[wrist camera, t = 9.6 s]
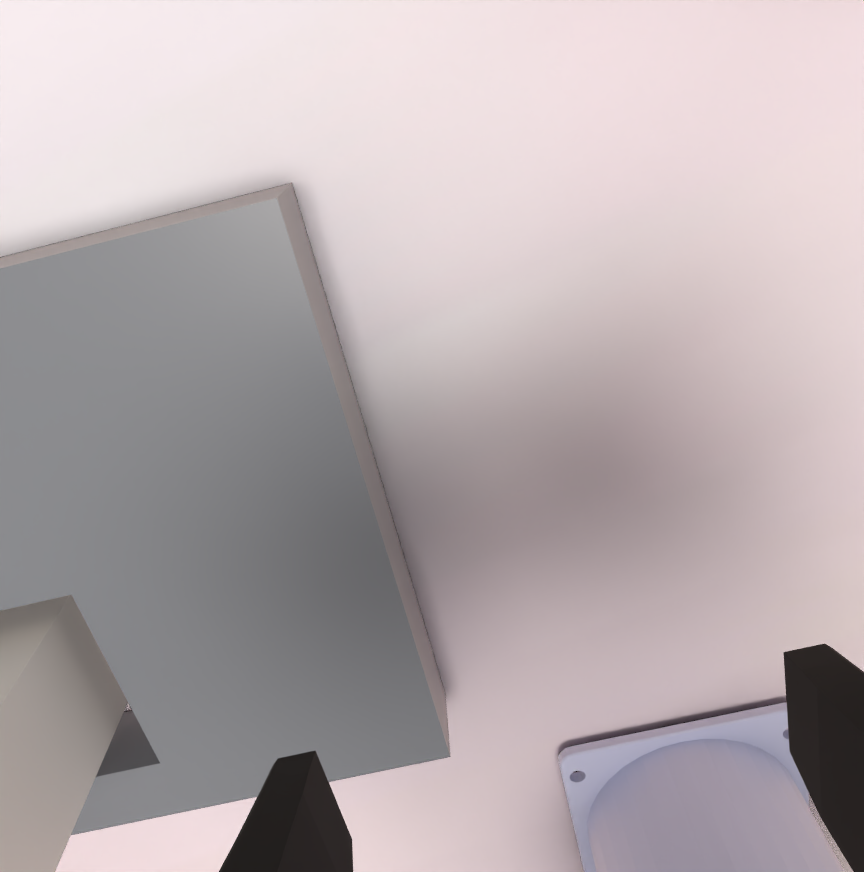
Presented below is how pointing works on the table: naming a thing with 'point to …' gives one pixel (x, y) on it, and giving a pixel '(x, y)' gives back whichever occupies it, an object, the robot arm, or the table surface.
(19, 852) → the beige rectangular block
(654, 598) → the table surface
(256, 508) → the outlet plate
